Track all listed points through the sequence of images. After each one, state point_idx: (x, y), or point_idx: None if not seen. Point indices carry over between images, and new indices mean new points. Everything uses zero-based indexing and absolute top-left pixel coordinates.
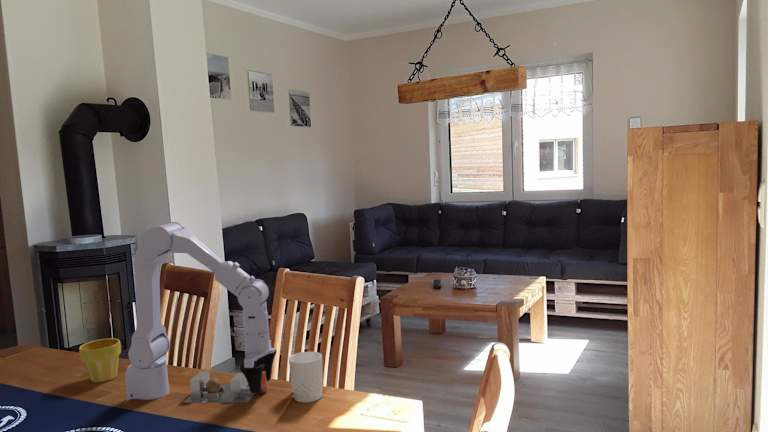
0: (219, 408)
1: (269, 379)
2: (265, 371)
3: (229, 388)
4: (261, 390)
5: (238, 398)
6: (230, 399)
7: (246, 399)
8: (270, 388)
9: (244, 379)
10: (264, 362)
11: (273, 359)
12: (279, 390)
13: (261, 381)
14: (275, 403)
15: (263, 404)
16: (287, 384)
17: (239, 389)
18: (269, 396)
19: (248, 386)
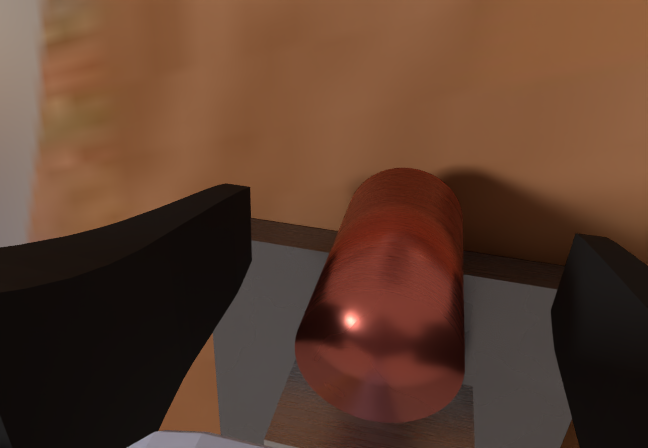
0: (563, 444)
1: (243, 188)
2: (381, 290)
3: None
4: (460, 224)
5: (506, 373)
6: (510, 419)
7: (550, 316)
8: (213, 153)
9: (347, 423)
10: (142, 354)
11: (28, 248)
12: (256, 60)
13: (460, 272)
14: (595, 32)
15: (584, 154)
16: (114, 8)
17: (471, 415)
18: (392, 130)
19: (258, 328)
